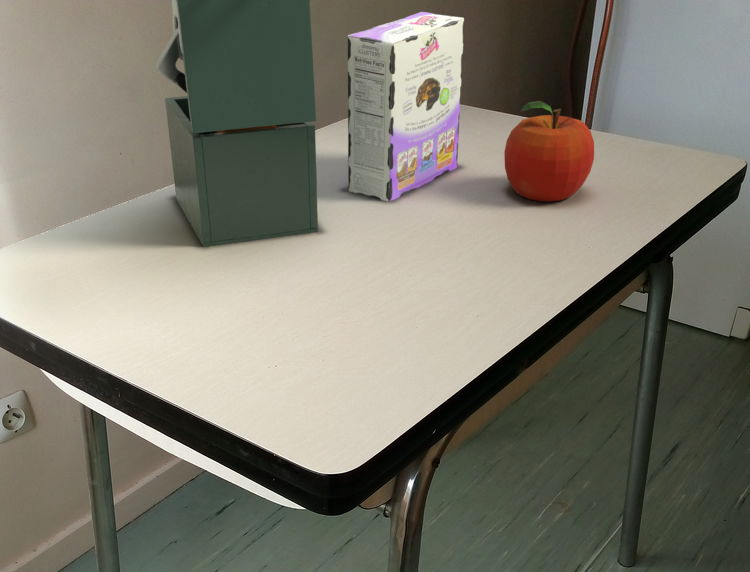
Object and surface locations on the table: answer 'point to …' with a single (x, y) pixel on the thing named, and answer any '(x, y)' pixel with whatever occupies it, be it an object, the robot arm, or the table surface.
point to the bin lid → (247, 63)
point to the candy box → (403, 104)
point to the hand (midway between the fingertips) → (239, 138)
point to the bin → (244, 179)
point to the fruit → (548, 155)
